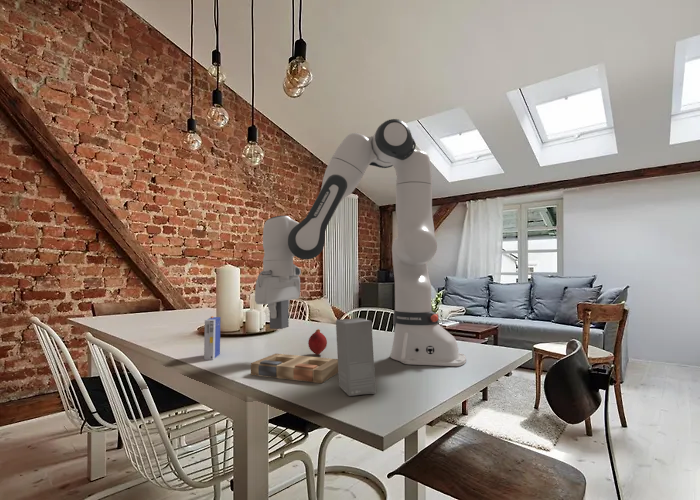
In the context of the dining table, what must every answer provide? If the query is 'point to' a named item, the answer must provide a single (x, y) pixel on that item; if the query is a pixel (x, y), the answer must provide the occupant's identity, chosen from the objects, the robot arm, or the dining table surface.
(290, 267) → the robot arm
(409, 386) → the dining table surface
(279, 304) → the plug
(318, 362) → the socket board
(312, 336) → the onion
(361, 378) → the skincare box
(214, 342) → the walkman
